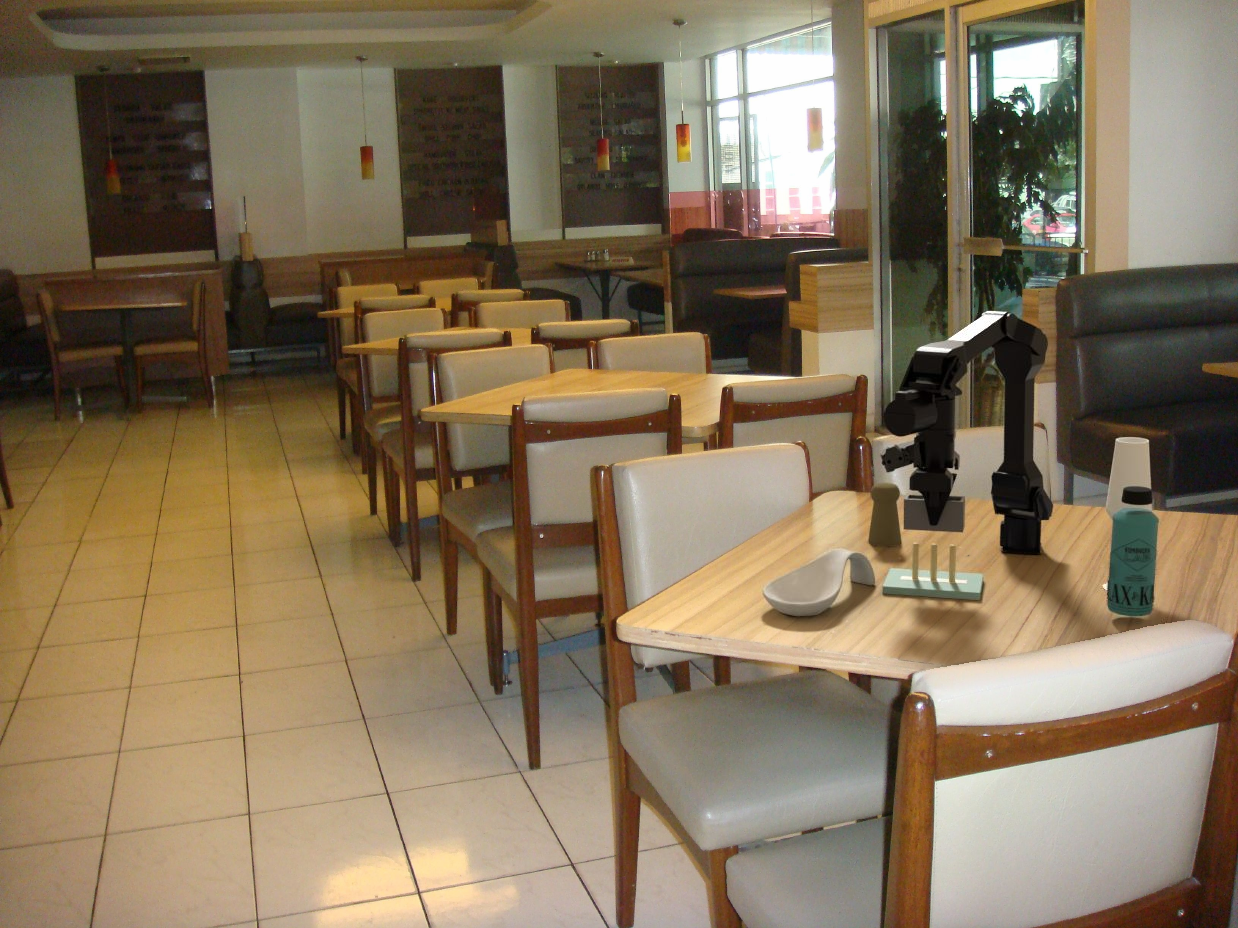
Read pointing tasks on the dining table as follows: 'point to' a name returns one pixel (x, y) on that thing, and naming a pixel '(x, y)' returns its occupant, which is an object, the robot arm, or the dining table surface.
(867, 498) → the dining table surface
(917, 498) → the plug housing
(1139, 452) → the white vase
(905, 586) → the header board
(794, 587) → the spoon rest
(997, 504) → the robot arm
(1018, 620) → the dining table surface
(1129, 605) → the beverage bottle
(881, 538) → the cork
